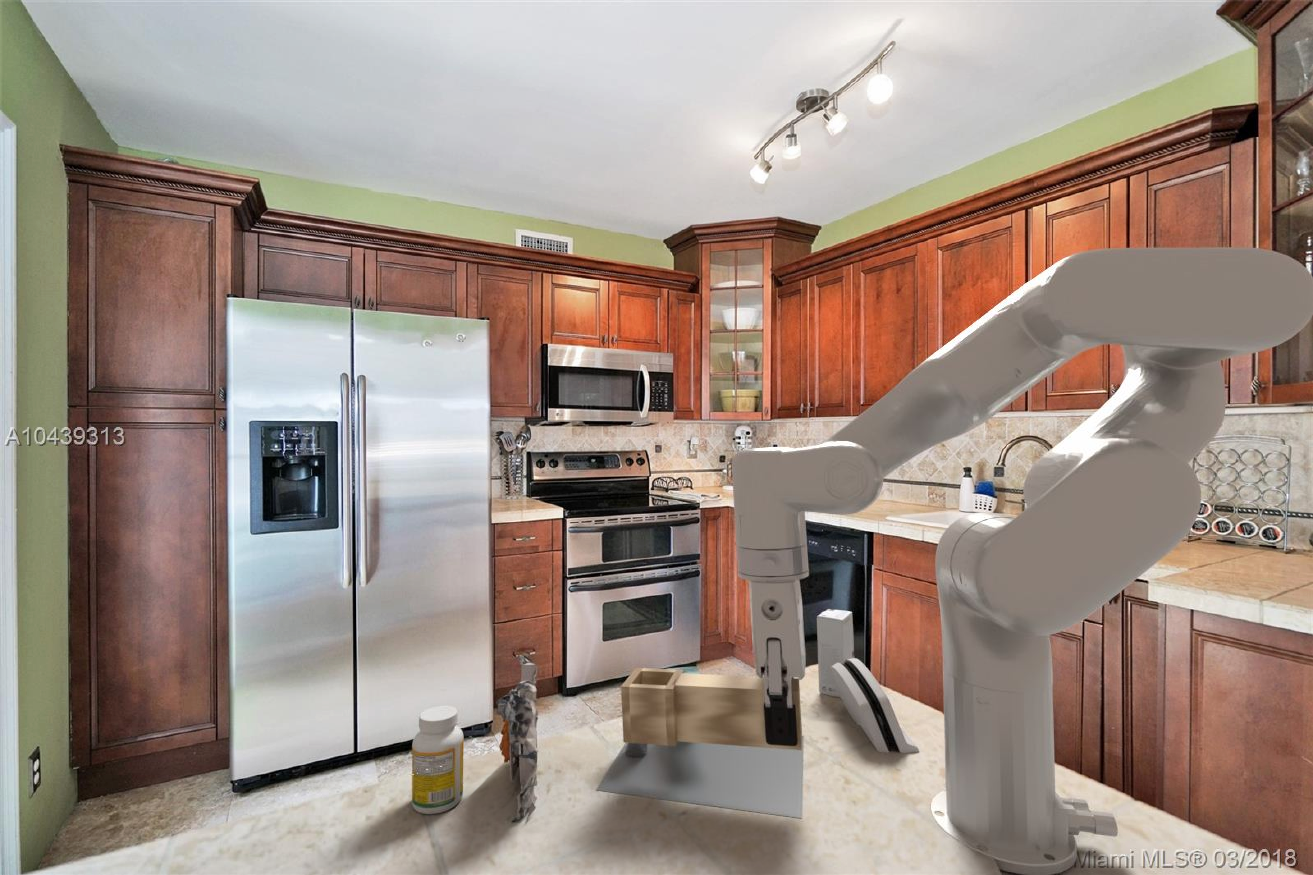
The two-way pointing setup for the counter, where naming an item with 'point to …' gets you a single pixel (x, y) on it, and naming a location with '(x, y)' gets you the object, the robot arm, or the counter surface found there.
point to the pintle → (636, 750)
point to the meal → (521, 734)
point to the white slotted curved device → (870, 707)
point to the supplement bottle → (437, 761)
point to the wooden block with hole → (698, 709)
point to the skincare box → (833, 646)
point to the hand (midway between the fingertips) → (782, 732)
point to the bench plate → (713, 776)
